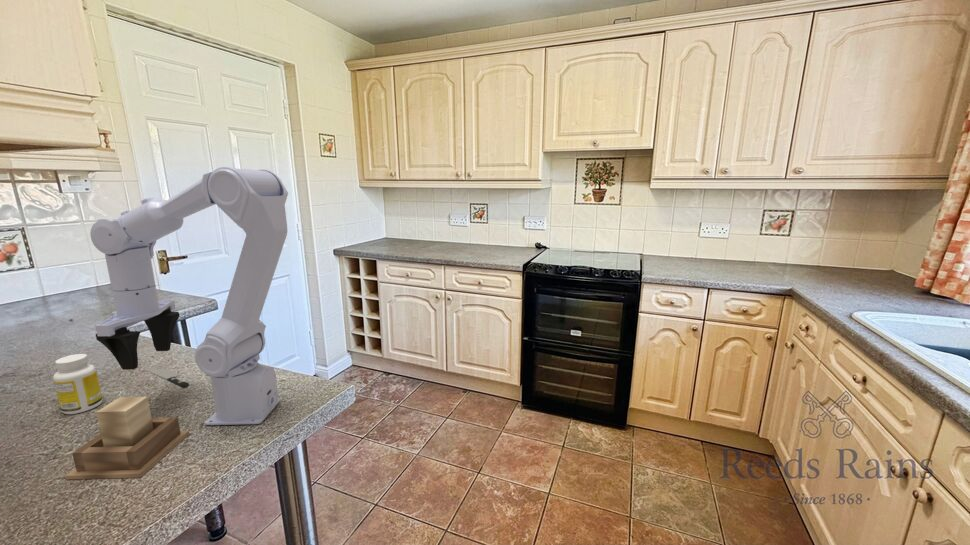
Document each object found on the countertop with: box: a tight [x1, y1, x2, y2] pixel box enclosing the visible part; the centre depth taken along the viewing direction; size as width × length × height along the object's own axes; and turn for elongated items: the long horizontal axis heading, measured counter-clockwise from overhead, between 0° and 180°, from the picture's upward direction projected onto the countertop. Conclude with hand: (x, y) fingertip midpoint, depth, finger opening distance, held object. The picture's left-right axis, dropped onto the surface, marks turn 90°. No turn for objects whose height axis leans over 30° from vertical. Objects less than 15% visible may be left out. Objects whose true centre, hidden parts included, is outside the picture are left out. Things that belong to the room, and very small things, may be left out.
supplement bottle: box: [52, 353, 103, 415], centre depth 71 cm, size 5×5×10 cm
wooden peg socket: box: [64, 416, 190, 481], centre depth 59 cm, size 10×10×4 cm
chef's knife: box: [143, 367, 190, 388], centre depth 84 cm, size 19×1×3 cm
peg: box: [96, 396, 154, 447], centre depth 58 cm, size 4×4×8 cm
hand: (147, 359), depth 70 cm, fingers open, 7 cm apart
